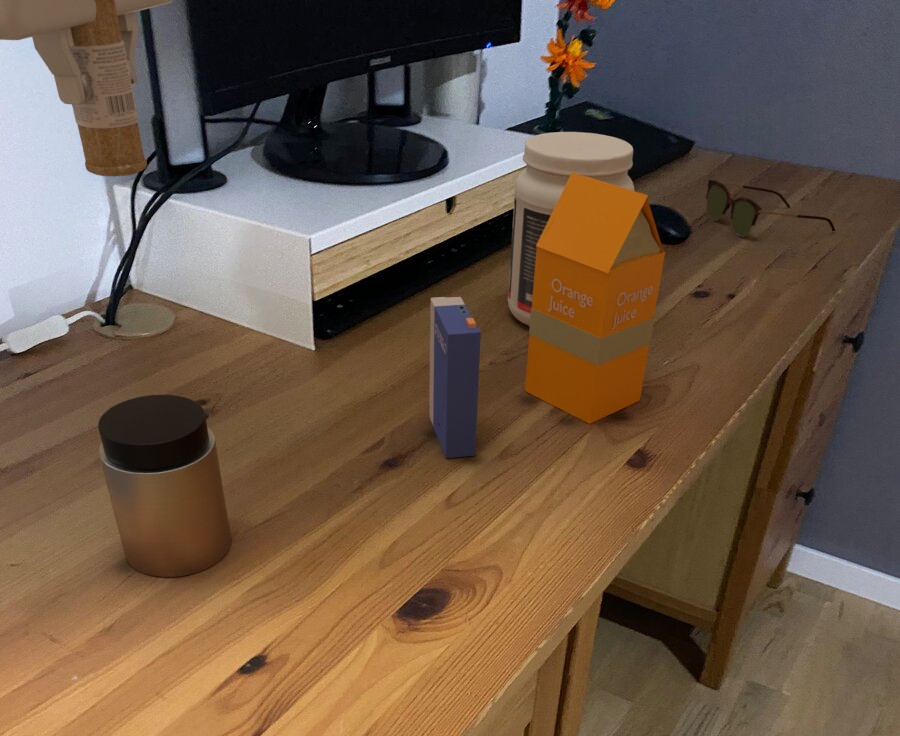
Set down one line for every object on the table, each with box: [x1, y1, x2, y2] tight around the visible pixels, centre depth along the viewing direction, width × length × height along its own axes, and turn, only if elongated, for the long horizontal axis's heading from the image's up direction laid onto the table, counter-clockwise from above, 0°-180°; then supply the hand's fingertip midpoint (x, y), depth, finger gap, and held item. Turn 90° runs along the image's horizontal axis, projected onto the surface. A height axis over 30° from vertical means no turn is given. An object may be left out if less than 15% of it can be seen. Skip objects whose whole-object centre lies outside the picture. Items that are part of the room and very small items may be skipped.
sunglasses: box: [705, 179, 836, 238], centre depth 133 cm, size 14×15×5 cm
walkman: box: [428, 296, 482, 459], centre depth 80 cm, size 8×3×12 cm, turn 12°
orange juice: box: [524, 172, 666, 425], centre depth 84 cm, size 8×9×20 cm
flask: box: [97, 394, 232, 578], centre depth 67 cm, size 8×8×11 cm
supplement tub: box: [507, 131, 636, 327], centre depth 100 cm, size 13×13×18 cm
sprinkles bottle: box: [69, 0, 148, 177], centre depth 65 cm, size 5×5×13 cm
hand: (100, 94), depth 66 cm, fingers closed on sprinkles bottle, 4 cm apart
